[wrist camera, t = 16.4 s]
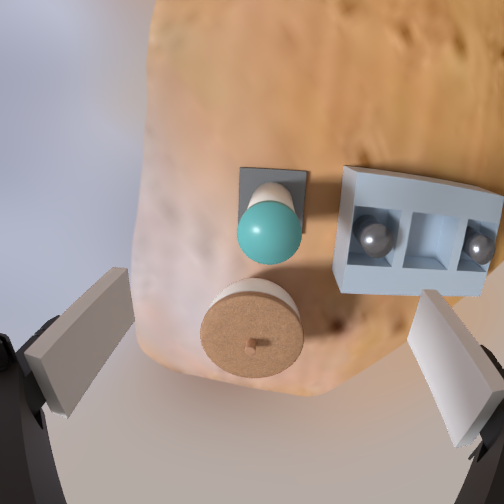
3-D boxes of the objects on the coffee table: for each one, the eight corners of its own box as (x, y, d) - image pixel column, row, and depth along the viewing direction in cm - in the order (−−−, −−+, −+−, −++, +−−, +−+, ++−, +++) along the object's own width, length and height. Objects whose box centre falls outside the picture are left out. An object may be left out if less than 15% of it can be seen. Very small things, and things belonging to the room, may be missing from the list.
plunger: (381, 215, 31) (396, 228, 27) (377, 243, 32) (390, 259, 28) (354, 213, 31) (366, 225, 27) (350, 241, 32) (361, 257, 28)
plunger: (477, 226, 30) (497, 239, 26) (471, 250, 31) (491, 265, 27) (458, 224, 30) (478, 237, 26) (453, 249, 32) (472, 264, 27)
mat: (306, 171, 33) (306, 171, 33) (301, 233, 35) (301, 235, 35) (240, 167, 33) (239, 167, 33) (238, 230, 36) (237, 231, 35)
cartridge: (250, 178, 33) (237, 201, 23) (295, 181, 33) (304, 205, 23) (248, 222, 35) (236, 262, 25) (292, 225, 35) (298, 266, 25)
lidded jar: (297, 339, 41) (301, 389, 32) (216, 337, 41) (202, 386, 33) (301, 264, 37) (309, 305, 28) (209, 263, 38) (190, 302, 29)
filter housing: (343, 165, 32) (357, 171, 27) (476, 186, 31) (504, 196, 26) (331, 269, 37) (340, 293, 31) (458, 275, 36) (479, 296, 30)
